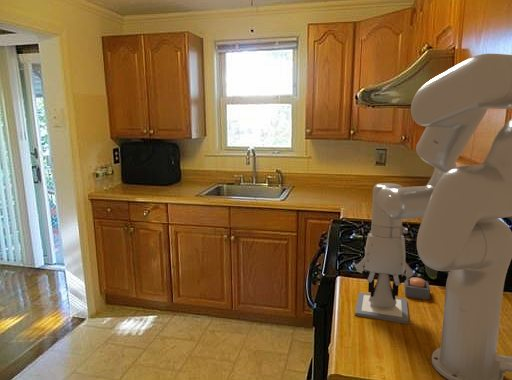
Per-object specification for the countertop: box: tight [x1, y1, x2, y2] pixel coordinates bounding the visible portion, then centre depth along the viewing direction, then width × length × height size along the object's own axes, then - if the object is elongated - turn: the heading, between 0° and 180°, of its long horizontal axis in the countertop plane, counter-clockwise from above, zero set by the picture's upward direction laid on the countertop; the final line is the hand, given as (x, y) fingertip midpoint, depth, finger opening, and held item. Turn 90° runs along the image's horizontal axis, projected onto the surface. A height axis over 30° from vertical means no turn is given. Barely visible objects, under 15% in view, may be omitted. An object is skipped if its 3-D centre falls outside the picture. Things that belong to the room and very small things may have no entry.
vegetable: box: [424, 264, 438, 280], centre depth 120 cm, size 4×4×20 cm
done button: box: [409, 276, 426, 288], centre depth 110 cm, size 4×4×3 cm
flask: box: [369, 273, 397, 308], centre depth 100 cm, size 7×7×10 cm
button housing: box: [403, 278, 431, 300], centre depth 110 cm, size 6×6×3 cm
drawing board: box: [354, 292, 410, 325], centre depth 101 cm, size 13×13×1 cm
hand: (382, 295), depth 101 cm, fingers closed on flask, 4 cm apart
